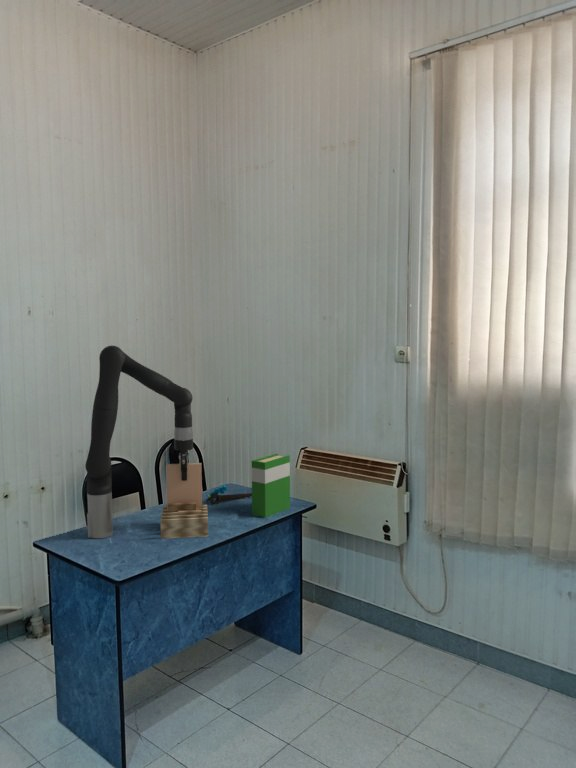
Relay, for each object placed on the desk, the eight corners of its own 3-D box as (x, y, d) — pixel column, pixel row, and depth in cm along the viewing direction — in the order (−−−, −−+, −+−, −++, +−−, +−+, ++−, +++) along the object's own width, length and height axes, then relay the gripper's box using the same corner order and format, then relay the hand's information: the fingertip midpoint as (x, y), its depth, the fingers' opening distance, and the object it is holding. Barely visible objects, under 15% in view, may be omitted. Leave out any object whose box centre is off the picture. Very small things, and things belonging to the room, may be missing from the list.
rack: (160, 542, 244) (160, 520, 244) (163, 526, 263) (162, 506, 262) (208, 539, 247) (207, 518, 246) (207, 524, 266) (207, 504, 265)
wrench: (266, 501, 305) (210, 507, 289) (261, 499, 309) (205, 505, 293) (267, 490, 305) (210, 495, 289) (261, 488, 309) (205, 493, 293)
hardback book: (276, 505, 292) (276, 453, 289) (289, 508, 288) (289, 455, 285) (252, 514, 278) (251, 460, 275) (265, 518, 274) (264, 463, 271)
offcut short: (178, 532, 251) (178, 512, 251) (178, 530, 253) (178, 510, 253) (201, 531, 253) (201, 511, 252) (201, 529, 255) (201, 509, 254)
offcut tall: (168, 529, 255) (168, 504, 254) (168, 527, 257) (168, 503, 256) (196, 527, 257) (196, 503, 255) (196, 526, 259) (196, 502, 257)
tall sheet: (167, 518, 259) (166, 465, 257) (167, 517, 261) (166, 464, 258) (202, 516, 261) (201, 464, 259) (202, 515, 262) (201, 463, 260)
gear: (222, 492, 307) (228, 481, 300) (228, 502, 305) (234, 492, 298) (202, 500, 300) (208, 489, 293) (208, 510, 298) (215, 499, 291)
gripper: (174, 434, 263) (175, 476, 265) (173, 441, 250) (174, 484, 252) (193, 434, 265) (193, 475, 266) (192, 440, 251) (193, 483, 253)
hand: (184, 479), depth 259 cm, fingers closed on tall sheet, 1 cm apart
